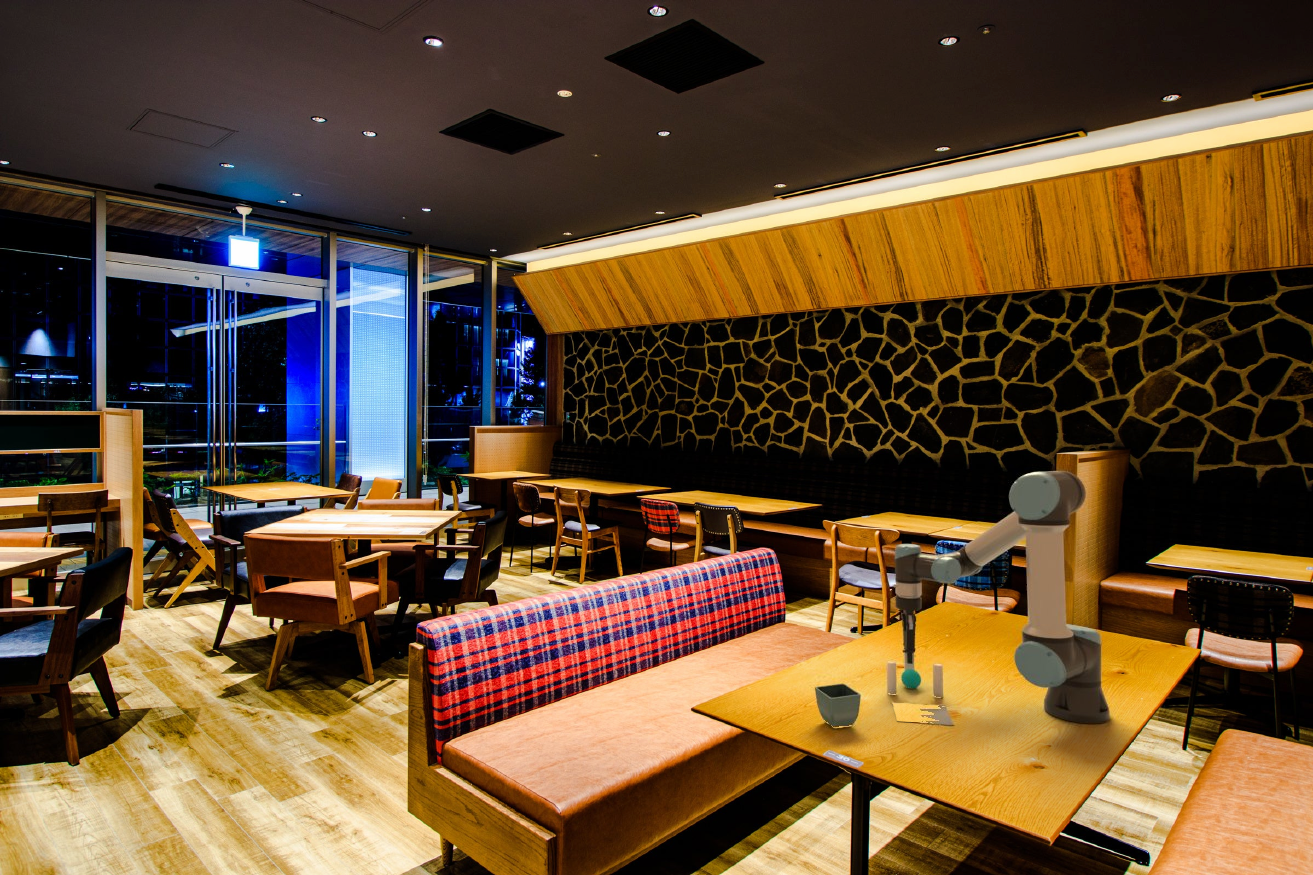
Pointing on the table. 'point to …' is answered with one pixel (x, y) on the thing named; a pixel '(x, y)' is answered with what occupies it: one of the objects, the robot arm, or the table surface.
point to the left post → (891, 677)
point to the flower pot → (838, 704)
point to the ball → (911, 678)
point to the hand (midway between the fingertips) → (909, 672)
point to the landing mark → (939, 716)
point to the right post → (938, 680)
